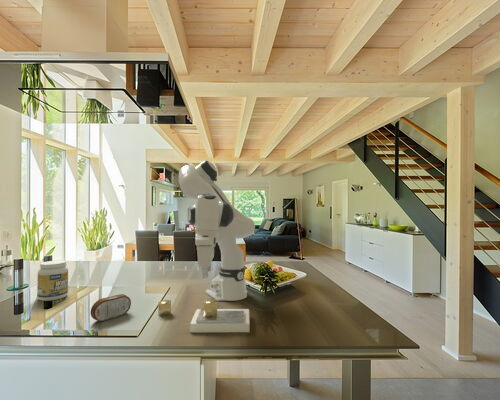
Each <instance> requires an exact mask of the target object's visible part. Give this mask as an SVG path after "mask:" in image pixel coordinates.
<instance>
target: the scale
mask: <svg viewBox="0 0 500 400" xmlns="http://www.w3.org/2000/svg"><path fill="white" fill-rule="evenodd" d="M189 332H190V333H250V309H249V308H217V316H216V317H213V318H207V317H204V308H196V309H195V312H194V315H193V316H192V319H191V320H190V323H189Z"/></svg>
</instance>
